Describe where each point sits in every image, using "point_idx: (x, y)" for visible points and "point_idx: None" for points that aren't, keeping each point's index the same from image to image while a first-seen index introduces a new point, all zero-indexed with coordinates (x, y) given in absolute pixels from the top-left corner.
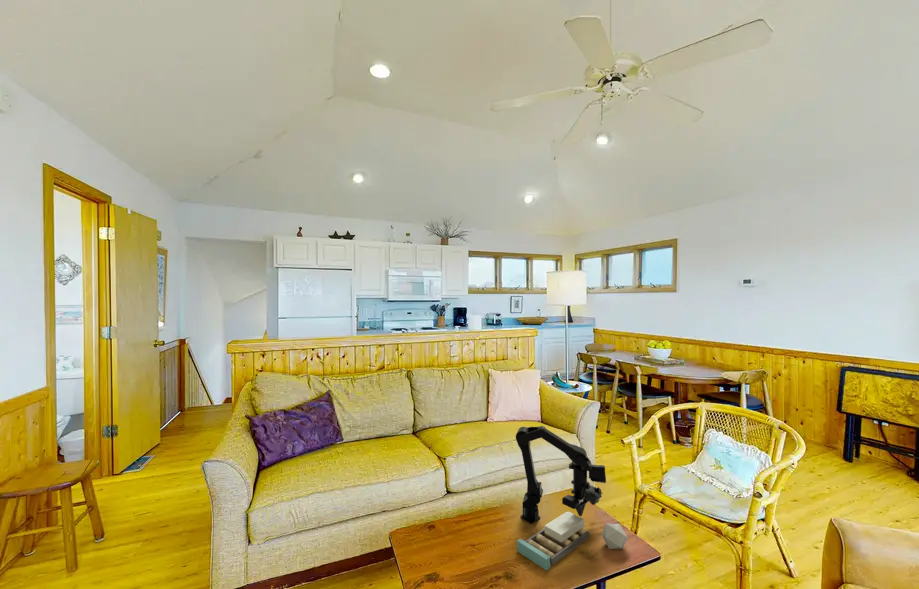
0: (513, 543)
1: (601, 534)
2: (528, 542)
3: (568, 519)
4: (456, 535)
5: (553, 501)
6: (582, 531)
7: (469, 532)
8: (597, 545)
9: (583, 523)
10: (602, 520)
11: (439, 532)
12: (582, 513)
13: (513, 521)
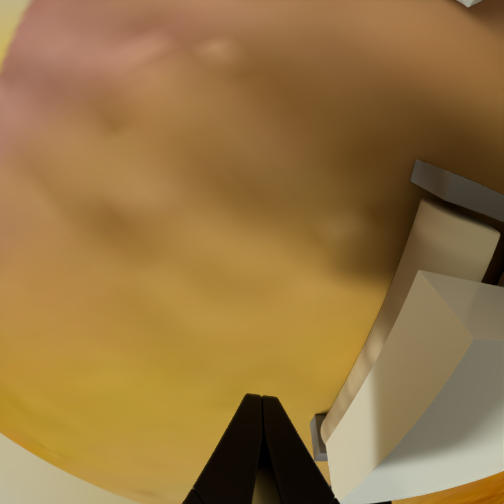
0: None
1: (472, 2)
2: None
3: (502, 436)
4: (500, 489)
5: (116, 477)
6: (494, 250)
7: (487, 491)
8: (482, 60)
9: (461, 302)
10: (6, 171)
11: (491, 501)
12: (243, 419)
13: (405, 500)
